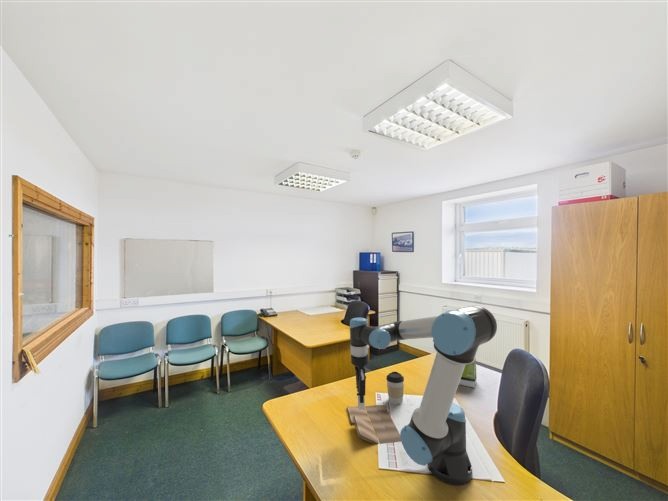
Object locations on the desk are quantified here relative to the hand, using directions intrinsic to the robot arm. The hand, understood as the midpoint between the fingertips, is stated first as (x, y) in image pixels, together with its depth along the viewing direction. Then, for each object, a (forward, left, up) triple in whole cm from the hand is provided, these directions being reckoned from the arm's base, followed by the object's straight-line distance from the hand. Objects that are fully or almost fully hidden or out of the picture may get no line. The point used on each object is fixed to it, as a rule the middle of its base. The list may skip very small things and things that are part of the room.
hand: (361, 408), depth 123 cm
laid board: (+7, -11, -12) cm, 17 cm away
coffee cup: (+24, -23, -12) cm, 35 cm away
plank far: (+14, -1, -12) cm, 18 cm away
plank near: (0, -1, -10) cm, 10 cm away
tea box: (+40, -69, -12) cm, 80 cm away
